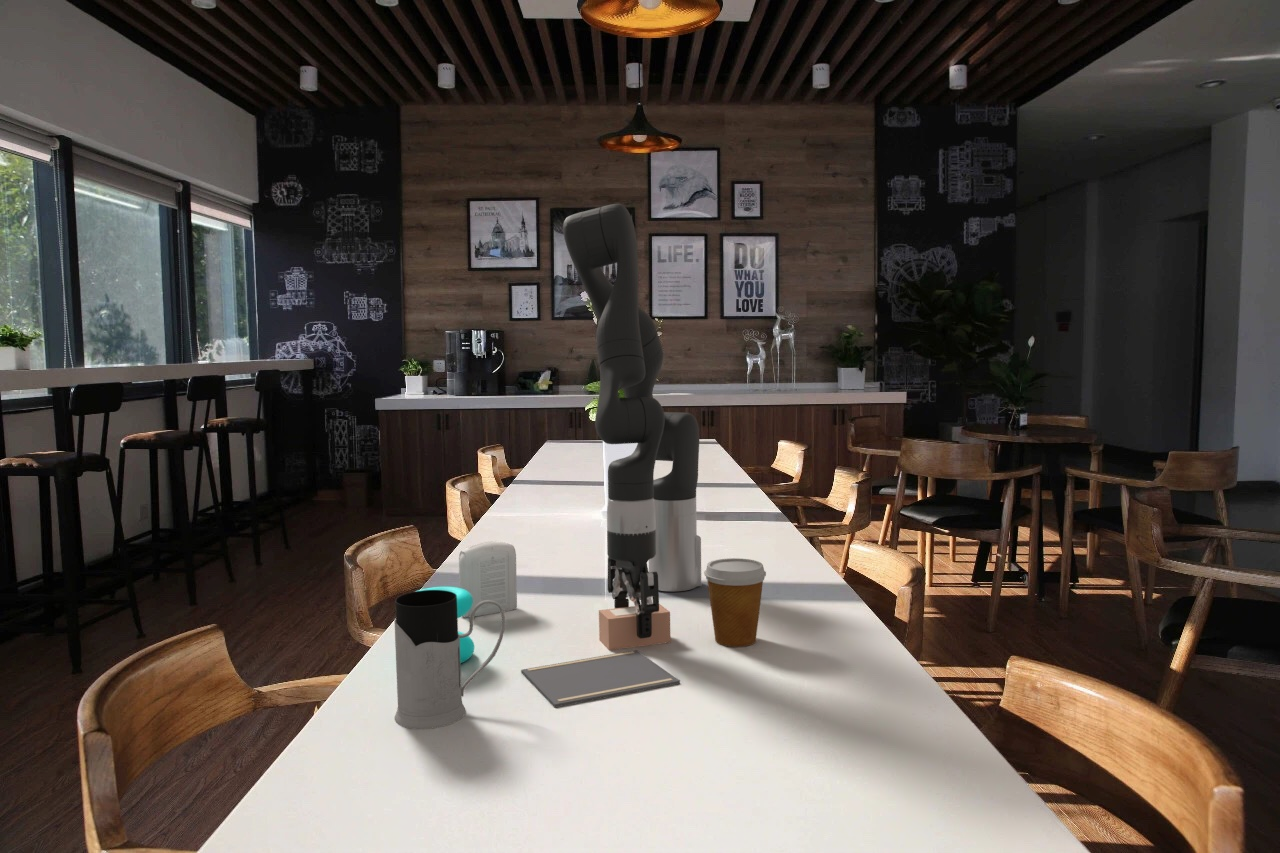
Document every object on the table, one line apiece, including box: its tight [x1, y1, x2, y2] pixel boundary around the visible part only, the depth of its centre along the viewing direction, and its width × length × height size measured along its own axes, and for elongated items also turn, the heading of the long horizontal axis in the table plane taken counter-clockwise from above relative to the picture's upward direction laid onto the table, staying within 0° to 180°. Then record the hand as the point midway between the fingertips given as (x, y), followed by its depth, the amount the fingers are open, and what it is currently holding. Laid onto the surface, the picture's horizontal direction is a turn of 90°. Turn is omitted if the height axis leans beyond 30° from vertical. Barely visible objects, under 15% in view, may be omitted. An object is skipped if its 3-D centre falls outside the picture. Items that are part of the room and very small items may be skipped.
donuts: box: [414, 586, 475, 664], centre depth 134 cm, size 10×10×10 cm
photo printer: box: [458, 540, 518, 619], centre depth 158 cm, size 10×4×12 cm, turn 123°
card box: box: [598, 603, 671, 651], centre depth 141 cm, size 10×5×5 cm, turn 109°
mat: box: [520, 649, 681, 708], centre depth 126 cm, size 18×14×1 cm
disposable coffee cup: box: [703, 557, 767, 648], centre depth 140 cm, size 10×10×12 cm
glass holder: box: [393, 590, 506, 730], centre depth 115 cm, size 9×14×15 cm, turn 112°
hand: (632, 629), depth 141 cm, fingers open, 8 cm apart
